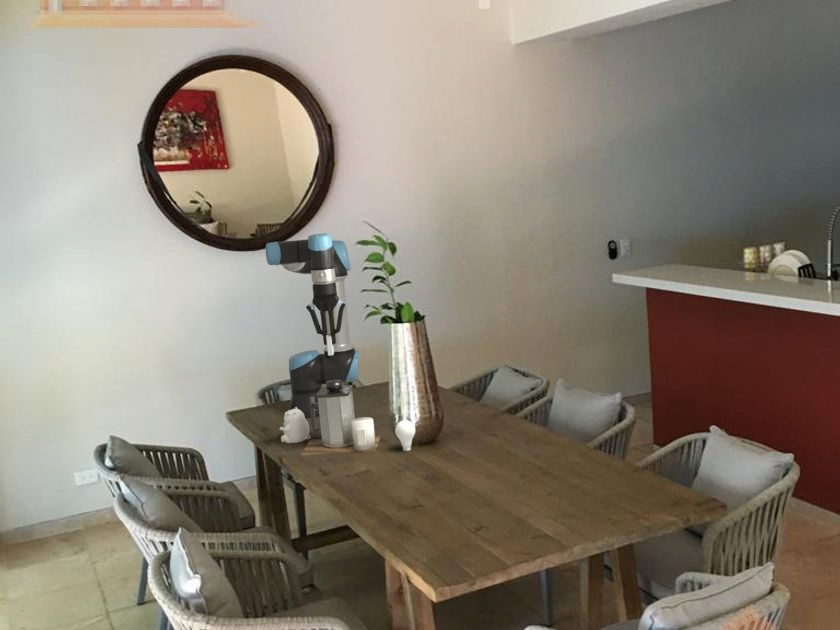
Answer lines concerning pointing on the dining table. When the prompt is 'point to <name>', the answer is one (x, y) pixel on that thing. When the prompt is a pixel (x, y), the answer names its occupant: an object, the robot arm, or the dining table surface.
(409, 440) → the lightbulb
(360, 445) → the mug
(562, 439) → the dining table surface
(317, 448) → the board
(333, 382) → the plunger
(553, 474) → the dining table surface
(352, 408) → the carafe
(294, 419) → the figurine
